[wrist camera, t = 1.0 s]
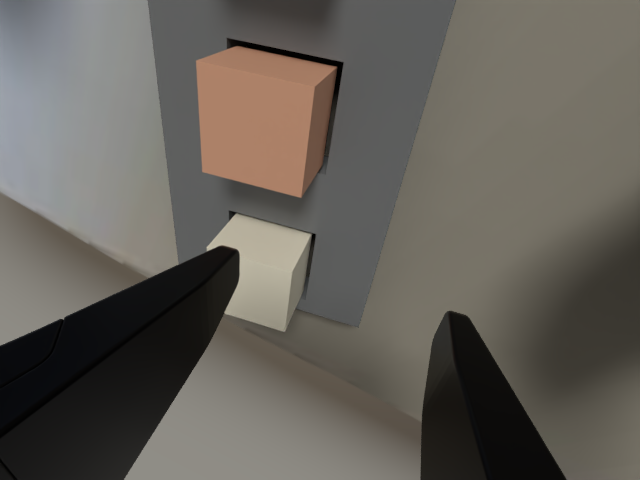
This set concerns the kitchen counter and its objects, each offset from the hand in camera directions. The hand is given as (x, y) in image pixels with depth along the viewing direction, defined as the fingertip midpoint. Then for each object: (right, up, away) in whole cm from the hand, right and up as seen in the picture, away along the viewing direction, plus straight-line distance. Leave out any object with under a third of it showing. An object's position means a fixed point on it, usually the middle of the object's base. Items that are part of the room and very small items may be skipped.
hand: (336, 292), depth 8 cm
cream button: (-3, 0, +14) cm, 14 cm away
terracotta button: (-2, +7, +9) cm, 12 cm away
